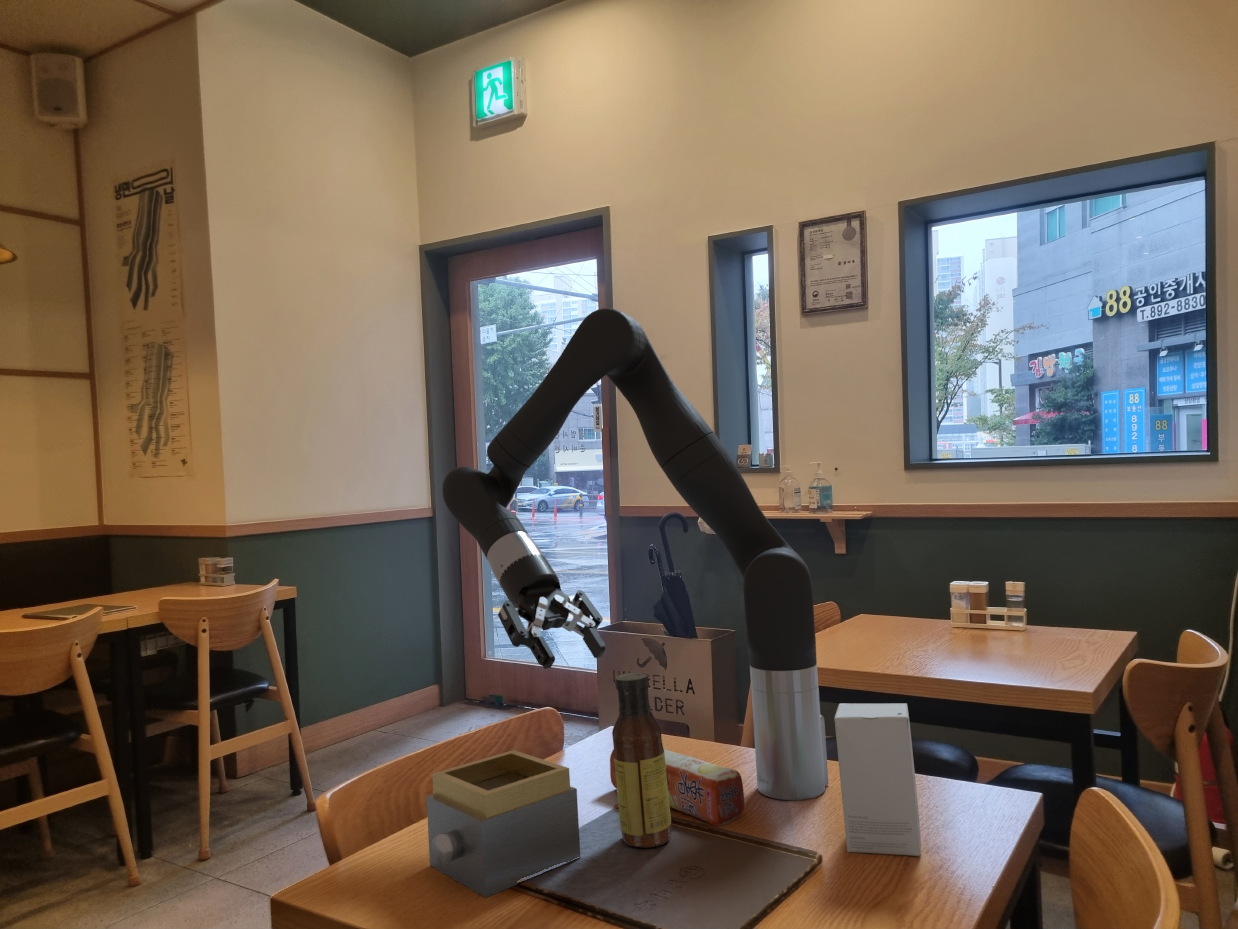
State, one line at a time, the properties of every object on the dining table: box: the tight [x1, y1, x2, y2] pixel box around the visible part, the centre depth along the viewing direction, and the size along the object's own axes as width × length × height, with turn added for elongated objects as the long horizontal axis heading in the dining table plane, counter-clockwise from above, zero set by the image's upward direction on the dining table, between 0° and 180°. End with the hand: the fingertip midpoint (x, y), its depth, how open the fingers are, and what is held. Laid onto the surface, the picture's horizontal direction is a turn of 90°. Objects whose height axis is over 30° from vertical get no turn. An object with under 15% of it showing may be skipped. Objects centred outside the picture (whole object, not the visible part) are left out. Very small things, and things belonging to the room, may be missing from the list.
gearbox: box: [426, 749, 581, 898], centre depth 98 cm, size 15×12×10 cm
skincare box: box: [833, 702, 922, 857], centre depth 97 cm, size 8×7×16 cm
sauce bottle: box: [611, 672, 672, 849], centre depth 103 cm, size 7×6×20 cm
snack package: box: [609, 748, 745, 827], centre depth 114 cm, size 21×7×7 cm, turn 40°
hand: (576, 659), depth 112 cm, fingers open, 8 cm apart
